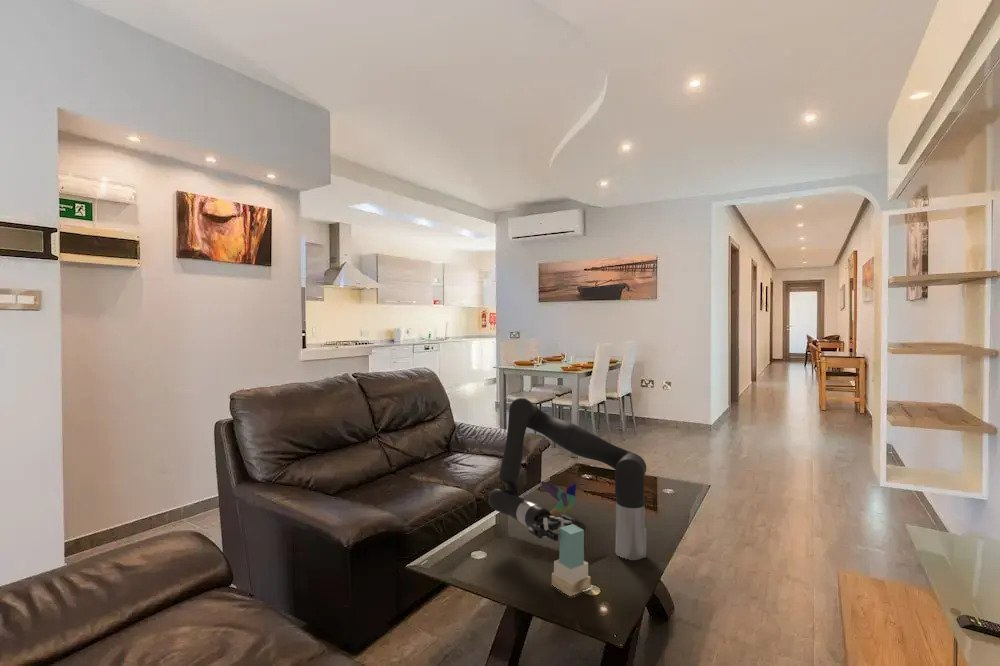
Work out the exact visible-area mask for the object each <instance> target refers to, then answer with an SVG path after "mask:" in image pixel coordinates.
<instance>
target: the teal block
mask: <svg viewBox="0 0 1000 666" xmlns="http://www.w3.org/2000/svg"><path fill="white" fill-rule="evenodd" d="M575 525H576V524H575ZM575 525H573V524H571V525H568V526H567V525H564V527H561V526H560V527H561V528H560V530H559V552H558V553H559V558H558V559H559V562H561V563H562V564H564V565H565V566H567V567H569V568H570V569H572V568H575V567H577V566H580V565H583V564H584V561H585V529H583V528H581V527H580V526H579V527H577V526H578V525H577V526H575Z"/></svg>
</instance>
